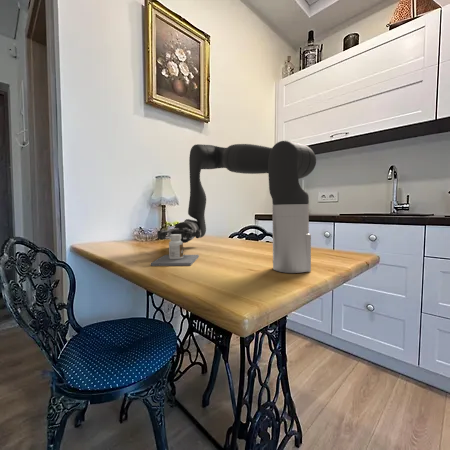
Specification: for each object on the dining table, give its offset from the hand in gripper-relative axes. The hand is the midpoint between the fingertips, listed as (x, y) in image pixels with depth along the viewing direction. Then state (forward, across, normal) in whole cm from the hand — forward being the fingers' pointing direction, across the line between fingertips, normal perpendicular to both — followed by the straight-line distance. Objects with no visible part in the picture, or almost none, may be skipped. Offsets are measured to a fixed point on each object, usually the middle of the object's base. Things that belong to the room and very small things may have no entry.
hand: (174, 236), depth 81 cm
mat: (-2, 0, +8) cm, 9 cm away
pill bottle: (-2, 0, +8) cm, 8 cm away
